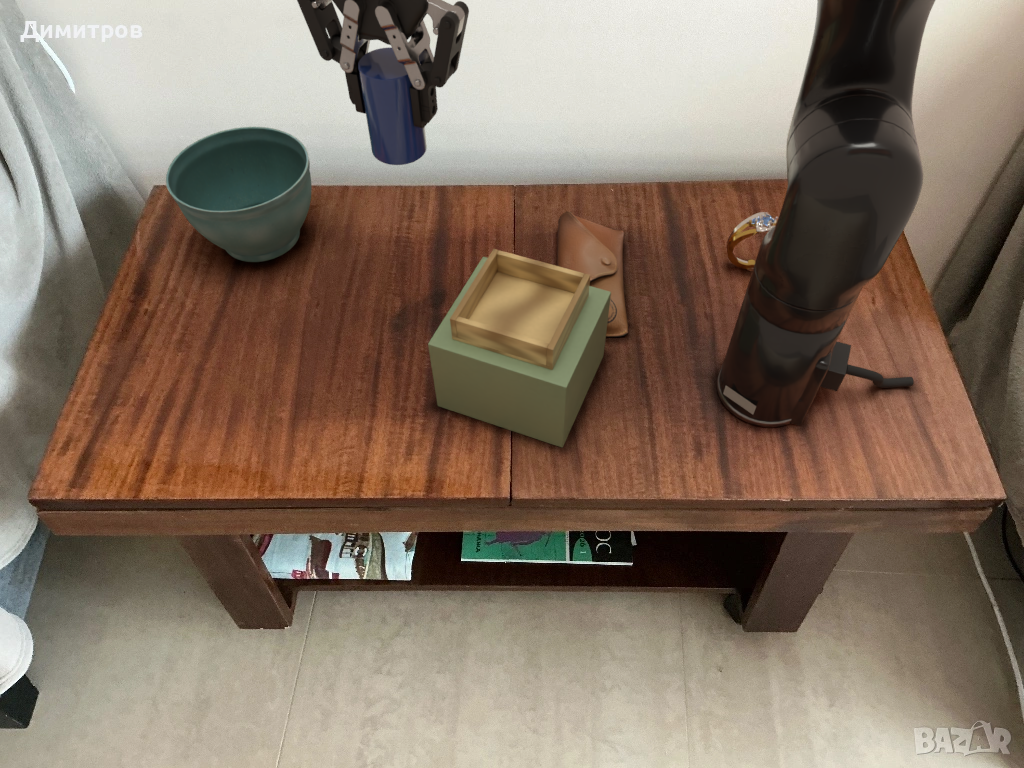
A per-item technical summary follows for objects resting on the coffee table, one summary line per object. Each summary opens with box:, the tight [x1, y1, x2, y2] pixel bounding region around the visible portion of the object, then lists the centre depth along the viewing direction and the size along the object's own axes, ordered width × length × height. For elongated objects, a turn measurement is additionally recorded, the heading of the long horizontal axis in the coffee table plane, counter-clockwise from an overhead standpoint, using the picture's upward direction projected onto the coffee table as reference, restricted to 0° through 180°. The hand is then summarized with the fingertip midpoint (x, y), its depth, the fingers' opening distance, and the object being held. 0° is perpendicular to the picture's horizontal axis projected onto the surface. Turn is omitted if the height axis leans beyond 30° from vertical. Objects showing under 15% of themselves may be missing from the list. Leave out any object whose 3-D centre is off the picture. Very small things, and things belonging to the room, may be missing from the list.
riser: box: [427, 256, 611, 448], centre depth 79 cm, size 14×13×10 cm
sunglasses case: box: [556, 210, 629, 338], centre depth 91 cm, size 18×7×7 cm
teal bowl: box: [165, 126, 313, 263], centre depth 94 cm, size 16×16×11 cm
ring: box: [726, 211, 779, 272], centre depth 90 cm, size 7×3×8 cm, turn 86°
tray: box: [450, 248, 590, 370], centre depth 74 cm, size 10×10×3 cm
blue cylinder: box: [358, 47, 428, 166], centre depth 65 cm, size 5×5×8 cm
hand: (395, 114), depth 65 cm, fingers closed on blue cylinder, 4 cm apart
